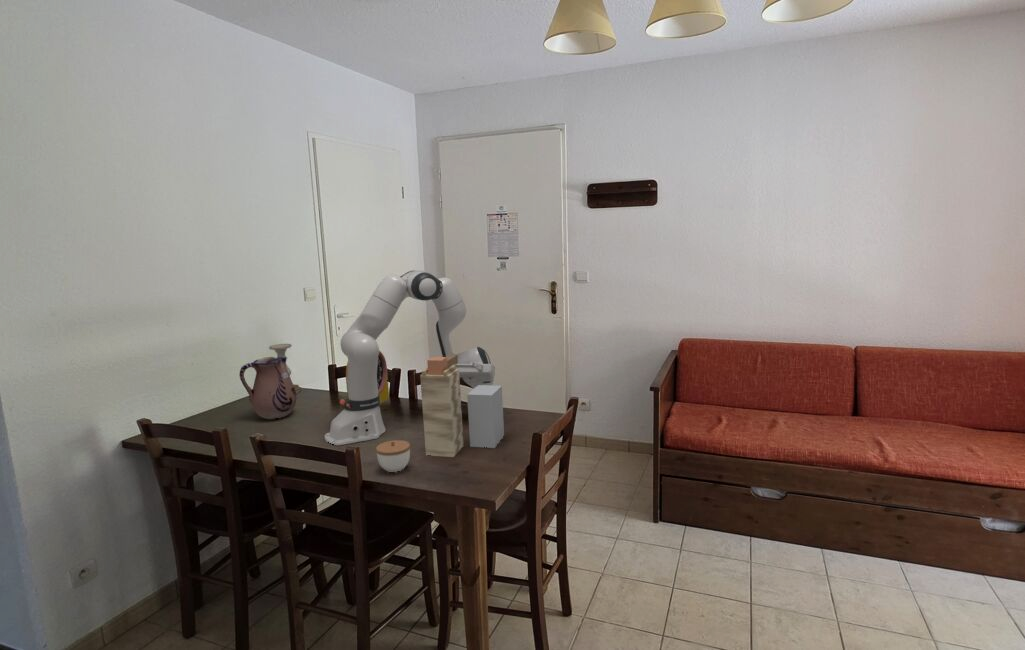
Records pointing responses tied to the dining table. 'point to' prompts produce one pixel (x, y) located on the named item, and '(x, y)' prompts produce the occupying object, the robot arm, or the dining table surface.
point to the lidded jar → (393, 455)
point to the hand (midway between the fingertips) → (462, 364)
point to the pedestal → (485, 416)
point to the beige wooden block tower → (442, 412)
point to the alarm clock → (379, 378)
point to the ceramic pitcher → (270, 388)
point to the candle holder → (280, 351)
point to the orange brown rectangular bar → (441, 364)
